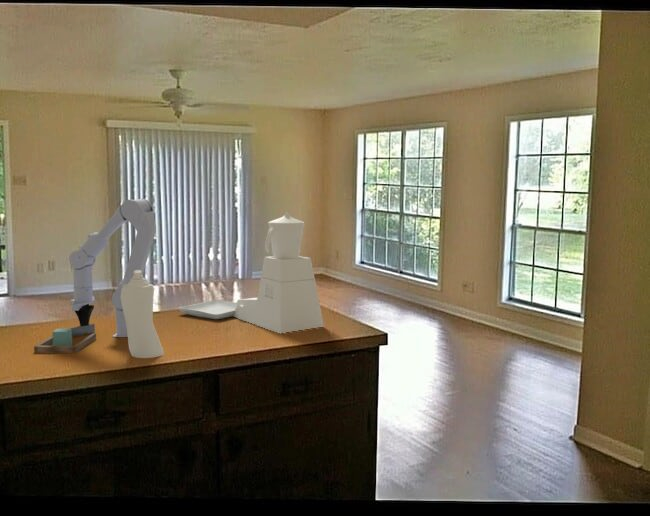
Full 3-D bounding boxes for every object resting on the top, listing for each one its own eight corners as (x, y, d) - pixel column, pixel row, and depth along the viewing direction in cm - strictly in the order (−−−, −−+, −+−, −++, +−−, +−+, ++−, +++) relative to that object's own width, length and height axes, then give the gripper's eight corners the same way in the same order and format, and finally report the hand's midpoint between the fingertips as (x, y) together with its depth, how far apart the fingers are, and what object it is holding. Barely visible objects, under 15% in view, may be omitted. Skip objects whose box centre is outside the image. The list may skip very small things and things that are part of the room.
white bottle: (124, 365, 173) (122, 274, 169) (120, 355, 182) (118, 269, 179) (167, 360, 177) (165, 272, 174) (161, 351, 187) (159, 267, 184)
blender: (231, 318, 232) (230, 209, 227) (274, 313, 243) (274, 208, 238) (278, 337, 205) (278, 214, 200) (324, 330, 216) (325, 213, 211)
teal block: (72, 348, 189) (71, 328, 188) (66, 351, 185) (66, 331, 184) (58, 348, 189) (58, 328, 188) (53, 351, 185) (52, 331, 184)
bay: (96, 341, 197) (95, 333, 197) (76, 355, 181) (76, 346, 181) (57, 340, 197) (57, 332, 197) (34, 354, 181) (34, 346, 181)
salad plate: (216, 307, 253) (216, 298, 253) (256, 314, 241) (256, 305, 241) (176, 315, 236) (176, 306, 236) (216, 324, 224) (216, 314, 224)
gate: (93, 332, 207) (92, 323, 207) (94, 333, 207) (94, 324, 206) (56, 339, 198) (56, 330, 197) (58, 340, 197) (57, 330, 197)
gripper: (79, 282, 211) (80, 322, 213) (61, 290, 197) (63, 333, 199) (100, 283, 212) (101, 322, 213) (84, 290, 197) (85, 333, 199)
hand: (84, 327), depth 206 cm, fingers closed, pressing on gate
